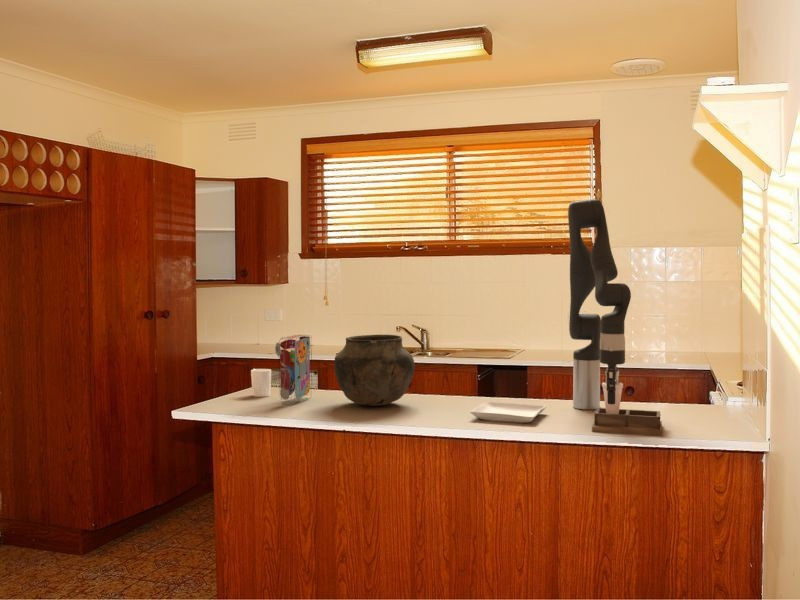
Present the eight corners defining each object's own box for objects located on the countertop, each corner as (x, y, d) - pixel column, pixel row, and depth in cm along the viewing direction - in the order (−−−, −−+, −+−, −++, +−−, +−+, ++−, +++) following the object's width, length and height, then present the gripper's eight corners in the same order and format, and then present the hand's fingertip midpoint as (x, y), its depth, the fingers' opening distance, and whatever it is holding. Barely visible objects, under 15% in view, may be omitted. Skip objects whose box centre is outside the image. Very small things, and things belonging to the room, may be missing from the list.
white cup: (250, 394, 297) (249, 369, 297) (270, 393, 299) (269, 368, 299) (252, 397, 290) (252, 371, 289) (272, 396, 292) (272, 370, 291)
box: (283, 409, 264) (283, 340, 263) (267, 408, 266) (267, 340, 265) (312, 398, 288) (311, 334, 287) (297, 397, 290) (297, 334, 289)
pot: (331, 414, 256) (331, 341, 255) (336, 398, 287) (335, 333, 286) (417, 413, 257) (417, 340, 256) (412, 397, 288) (412, 332, 287)
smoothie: (619, 412, 236) (619, 367, 235) (626, 416, 230) (626, 370, 229) (599, 412, 236) (599, 368, 235) (605, 416, 229) (605, 371, 229)
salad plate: (546, 414, 256) (546, 404, 256) (533, 426, 236) (533, 415, 236) (486, 410, 264) (486, 400, 264) (468, 421, 244) (468, 411, 244)
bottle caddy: (595, 421, 242) (595, 406, 241) (661, 425, 235) (661, 409, 235) (591, 431, 227) (592, 415, 227) (661, 435, 221) (662, 419, 221)
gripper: (601, 345, 240) (601, 398, 240) (598, 350, 226) (597, 405, 227) (626, 346, 237) (625, 399, 238) (624, 350, 224) (623, 407, 224)
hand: (611, 402), depth 232 cm, fingers closed on smoothie, 5 cm apart
